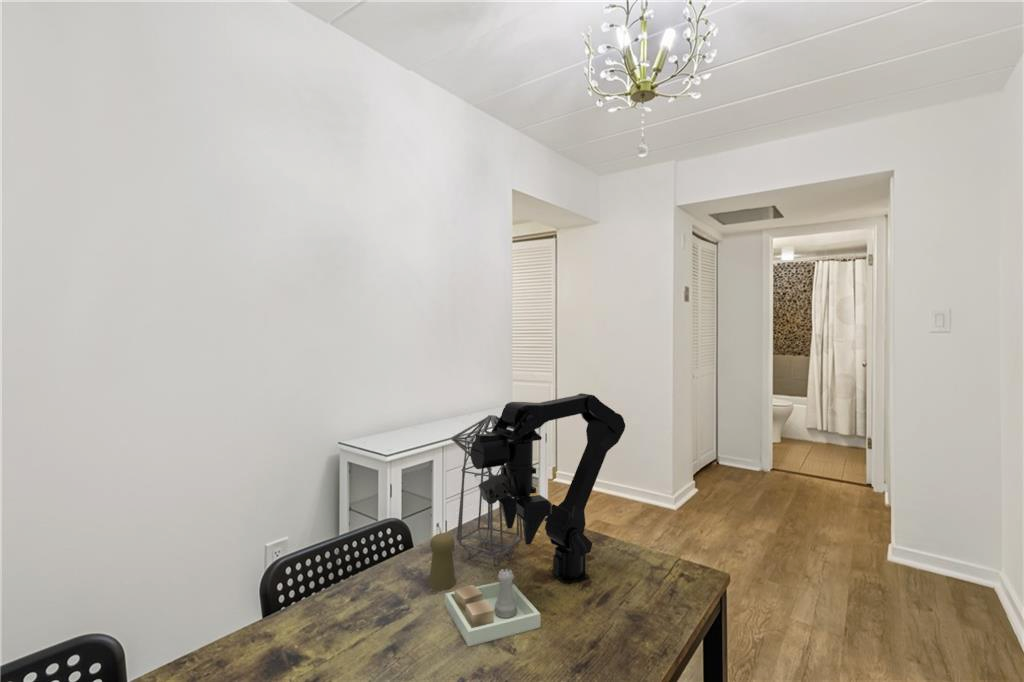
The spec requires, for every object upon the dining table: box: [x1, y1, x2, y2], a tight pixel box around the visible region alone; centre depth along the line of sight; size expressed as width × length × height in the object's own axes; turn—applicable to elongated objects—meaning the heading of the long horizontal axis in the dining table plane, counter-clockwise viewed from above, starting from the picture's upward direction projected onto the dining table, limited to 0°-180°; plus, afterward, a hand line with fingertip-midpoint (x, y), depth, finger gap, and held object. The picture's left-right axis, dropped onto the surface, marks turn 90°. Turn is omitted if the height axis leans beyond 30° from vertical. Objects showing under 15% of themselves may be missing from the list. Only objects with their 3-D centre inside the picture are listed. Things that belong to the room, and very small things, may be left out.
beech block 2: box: [466, 600, 494, 628], centre depth 91 cm, size 4×4×4 cm
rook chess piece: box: [494, 568, 517, 618], centre depth 96 cm, size 4×4×8 cm
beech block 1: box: [454, 584, 483, 619], centre depth 96 cm, size 4×4×4 cm
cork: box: [428, 532, 457, 591], centre depth 108 cm, size 6×6×11 cm
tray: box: [444, 581, 542, 647], centre depth 95 cm, size 14×14×3 cm
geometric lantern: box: [450, 414, 524, 567], centre depth 121 cm, size 16×16×35 cm
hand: (518, 535), depth 105 cm, fingers open, 9 cm apart
